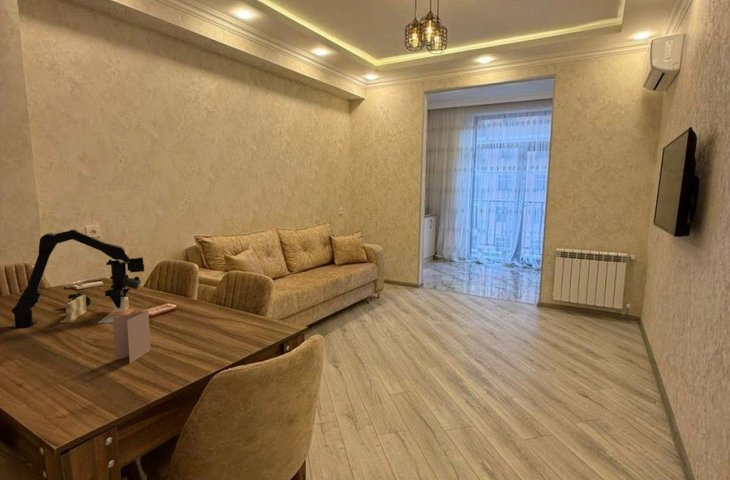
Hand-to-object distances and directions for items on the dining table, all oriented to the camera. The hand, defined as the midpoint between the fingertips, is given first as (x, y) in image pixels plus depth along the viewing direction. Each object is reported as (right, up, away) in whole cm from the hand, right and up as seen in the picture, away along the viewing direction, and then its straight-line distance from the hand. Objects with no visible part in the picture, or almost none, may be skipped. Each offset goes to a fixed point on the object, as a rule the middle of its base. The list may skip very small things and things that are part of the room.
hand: (120, 306), depth 185 cm
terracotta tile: (0, -3, 0) cm, 3 cm away
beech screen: (-17, -4, -6) cm, 19 cm away
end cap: (-25, -2, +8) cm, 26 cm away
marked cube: (0, -1, 0) cm, 1 cm away
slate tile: (+2, -4, -9) cm, 10 cm away
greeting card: (+35, -10, -47) cm, 59 cm away
